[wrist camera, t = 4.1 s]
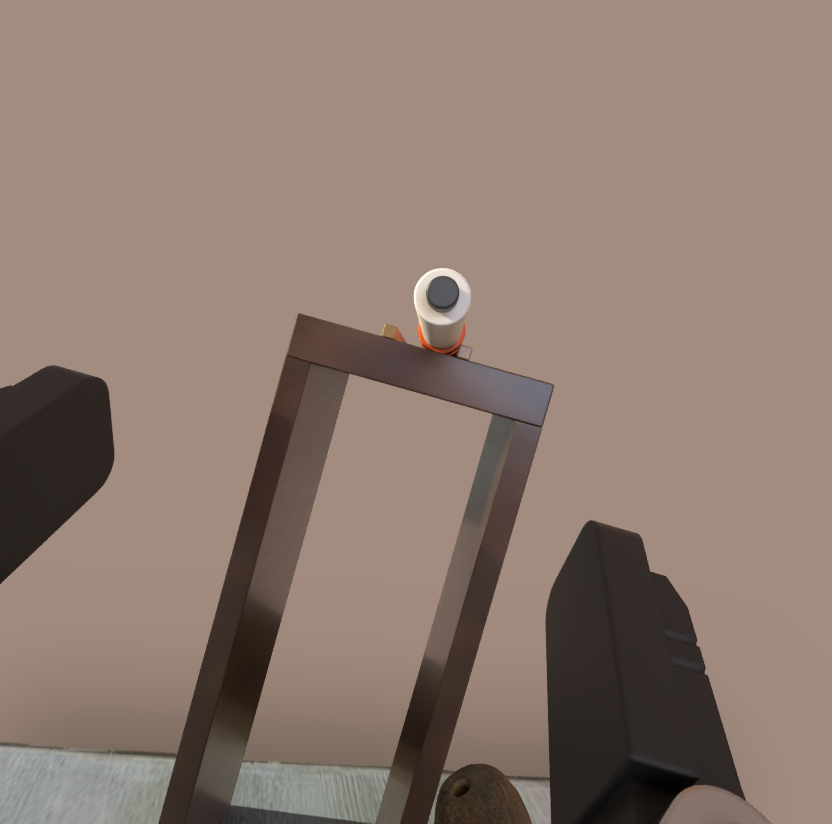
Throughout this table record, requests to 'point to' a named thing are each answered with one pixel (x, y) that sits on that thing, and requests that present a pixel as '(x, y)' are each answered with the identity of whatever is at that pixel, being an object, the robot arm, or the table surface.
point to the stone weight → (479, 798)
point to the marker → (442, 310)
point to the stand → (282, 540)
